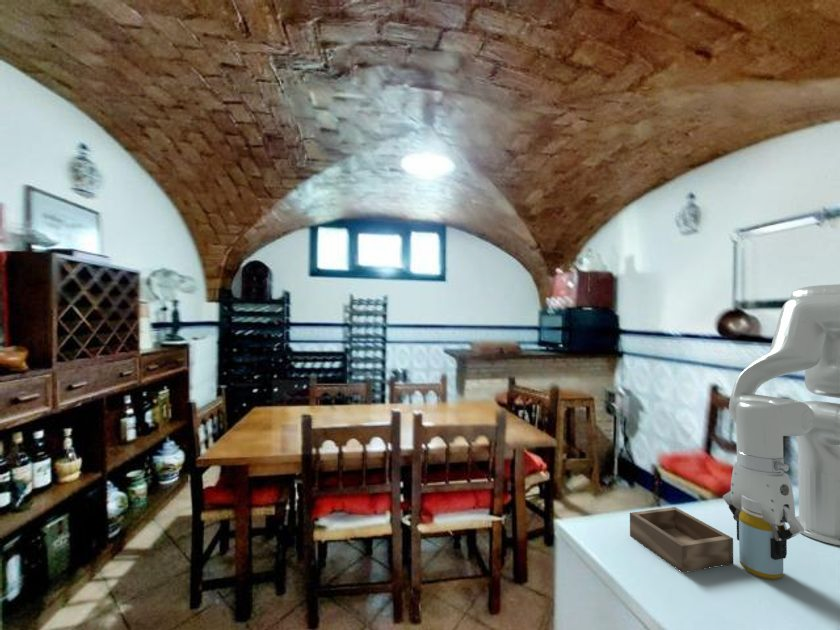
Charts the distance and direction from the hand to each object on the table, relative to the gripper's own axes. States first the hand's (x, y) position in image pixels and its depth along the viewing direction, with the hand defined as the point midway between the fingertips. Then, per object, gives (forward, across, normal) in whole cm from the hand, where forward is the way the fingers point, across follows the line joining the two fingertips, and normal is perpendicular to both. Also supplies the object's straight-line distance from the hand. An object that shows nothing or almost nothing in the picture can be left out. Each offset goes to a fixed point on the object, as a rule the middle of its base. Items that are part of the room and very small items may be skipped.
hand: (760, 548), depth 86 cm
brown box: (+5, +10, +10) cm, 15 cm away
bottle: (+5, 0, 0) cm, 5 cm away
